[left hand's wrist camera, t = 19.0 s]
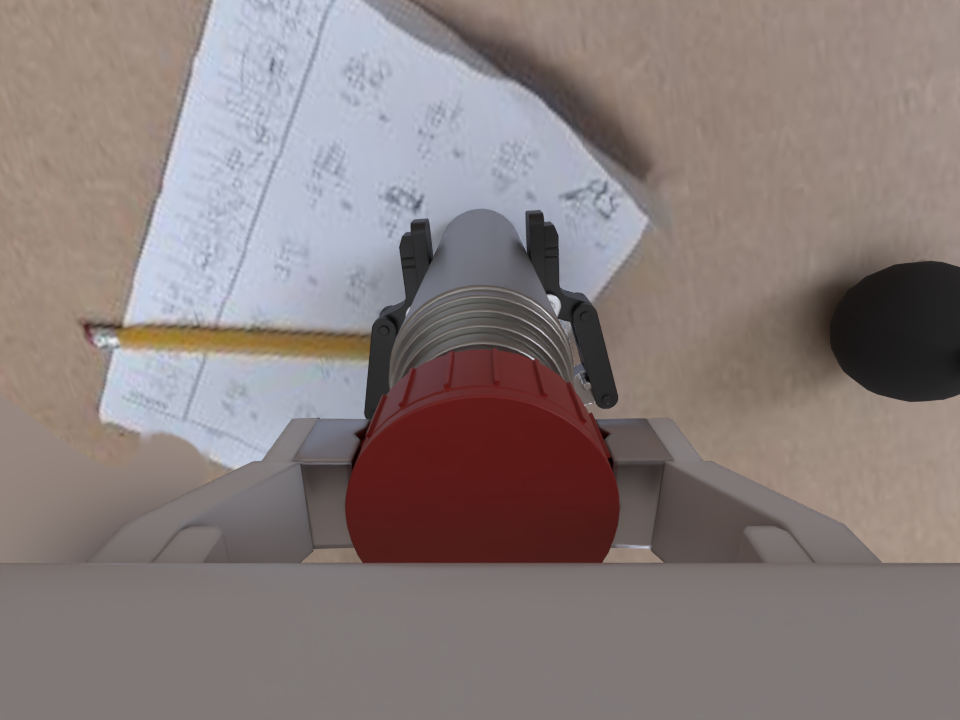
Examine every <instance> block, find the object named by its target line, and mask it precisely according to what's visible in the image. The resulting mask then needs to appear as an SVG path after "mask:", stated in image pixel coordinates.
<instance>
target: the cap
mask: <svg viewBox="0 0 960 720" xmlns="http://www.w3.org/2000/svg"><path fill="white" fill-rule="evenodd" d="M365 436H366V438H365V439H364V440H362V442H361V451H360V453H359V456H358V458H357V460H356V463H355V465H354V468H353V471H352V473H351V476H350V479H349V482H348V486H347V491H346V497H345V515H346V523H347V528H348V532H349V535H350V538H351V542H352V544H353V546H354V548H355V550H356V552H357V555H358V556H359V558H360V559H361V561H362V562H363V563H602V562H603V560H604V559H605V557H606V555H607V554H608V552H609V550H610V548H611V545H612V543H613V541H614V538H615V534H616V531H617V527H618V522H619V513H620V502H619V492H618V487H617V482H616V479H615V476H614V474H613V471H612V469H611V466H610V464H609V461H608V459H607V458H610V457H611V456H610V453H609V451H608V449H607V446H606V444H605V442H604V439H603V437H602V435H601V433H600V430H599V428H598V426H597V423H596V421H595V419H594V416H593V414H592V413H588V411H587V409H586V407H585V405H584V404H583V402H582V400H581V398H580V397H579V396H578V395H577V393H576V392H575V389H574V387H573V384H572V383H571V382H570V381H569V382H568V383H567V382H566V381H565V380H564V379H563V378H562V377H561V376H559V375H558V374H556V373H555V372H554V371H552V370H551V369H549V368H548V367H546V366H544V365H542V364H540V362H539V360H538V359H536V358H535V359H534V360H532V359H529V358H527V357H524V356H521V355H518V354H514V353H509V352H505V351H497V348H492V350H467V351H460V352H455V353H453V351H449V352H448V354H447V355H443V356H440V357H438V358H435V359H433V360H430V361H428V362H426V363H424V364H422V365H420V366H419V367H417V368H415V369H414V367H412V368H410V369H409V373H408V374H407V375H405V376H404V377H403V378H401V379H400V380H399V381H398V382H397V383H396V384H395V385H394V386H393V387H392V388H391V390H390V391H389V392H388V394H387V395H384V394H383V395H382V397H381V399H380V401H379V404H378V406H377V408H376V411H375V413H374V416H373V418H372V421H371V423H370V425H369V428H368V430H367V433H366V435H365Z"/></svg>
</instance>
